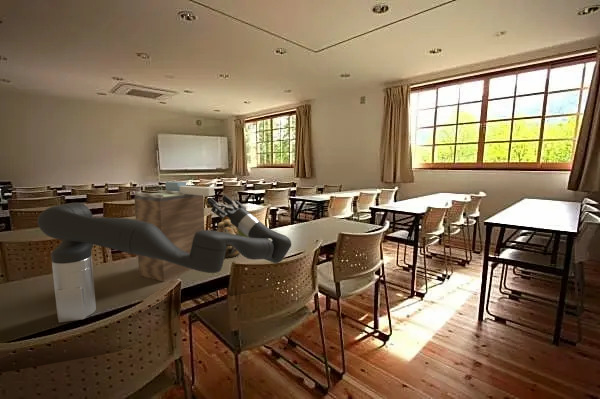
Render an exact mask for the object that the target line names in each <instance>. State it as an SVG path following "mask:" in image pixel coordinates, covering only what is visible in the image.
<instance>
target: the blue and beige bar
mask: <svg viewBox="0 0 600 399" xmlns="http://www.w3.org/2000/svg"><path fill="white" fill-rule="evenodd" d="M165 191H177V192H184V194H192V195H203V197H211V196H215V188H214V187H208V186H207V187H206V186H193V185H192V186H191V185H187V182H186V181H176V180H175V181H165Z"/></svg>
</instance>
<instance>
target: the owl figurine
mask: <svg viewBox="0 0 600 399" xmlns="http://www.w3.org/2000/svg"><path fill="white" fill-rule="evenodd" d="M216 231H218V232H224V233H230V234H235V235H239V233H238V228H236V227H235V226H234V225H233V224H232V223H231V221H230V218H228V219H223V221H221V222H218V223H217V229H216ZM238 255H239V256H240V255H241V254H240V253H239V252H238V250H237V249H236V248H234V247H233V246H232V245H230V244H227V248H226V253H225V257H224V259H226V258H227V259H233V258H236V256H237V257H239V256H238ZM232 257H233V258H232Z"/></svg>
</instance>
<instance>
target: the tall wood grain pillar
mask: <svg viewBox="0 0 600 399" xmlns="http://www.w3.org/2000/svg"><path fill="white" fill-rule="evenodd" d="M134 211H135V220H139V221H143V222H148V223H151V224H153V225H155V226H156V227H158V228H159V229H160V230H161V231H162V232H163V233H164V234H165V235H166V237H167V238H168V239H169V240H170V241H171V242H172V243H173V244H174V245H175V246H177V247H178V248H180V249H181V250H183V251H185V252H187V253H190V251H191V247H192V242H193V238H194V235H195V233H196V232H198V231H200V230H205V205H204V196H203V195H192V194H184V192H177V191H166V189H165V190H163V189H158V190H157V192H153V193H150V192H149V193H148V192H139V191H138V192H135V195H134ZM137 259H138V260H137V262H138V274H139V276H141V277H144V278H149V279H153V280H157V281H160V282H166V281H169V280H171V279H174V278H176V277H179V276H180V275H183V274H185V273H187V272H190V271H192V270H193V269H190V268H187V267H184V266H180V265H177V264H174V263H171V262H167V261H164V260H160V259H155V258H151V257H146V256H141V255H137Z"/></svg>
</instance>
